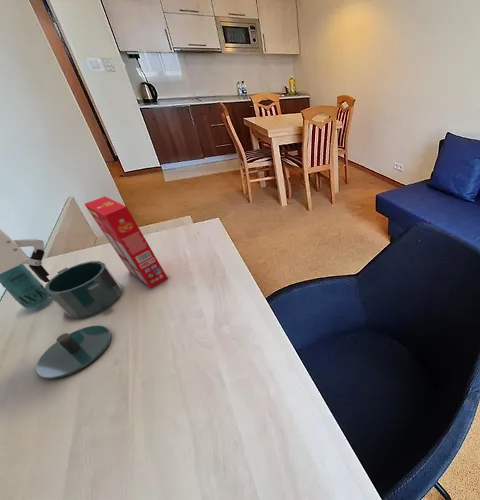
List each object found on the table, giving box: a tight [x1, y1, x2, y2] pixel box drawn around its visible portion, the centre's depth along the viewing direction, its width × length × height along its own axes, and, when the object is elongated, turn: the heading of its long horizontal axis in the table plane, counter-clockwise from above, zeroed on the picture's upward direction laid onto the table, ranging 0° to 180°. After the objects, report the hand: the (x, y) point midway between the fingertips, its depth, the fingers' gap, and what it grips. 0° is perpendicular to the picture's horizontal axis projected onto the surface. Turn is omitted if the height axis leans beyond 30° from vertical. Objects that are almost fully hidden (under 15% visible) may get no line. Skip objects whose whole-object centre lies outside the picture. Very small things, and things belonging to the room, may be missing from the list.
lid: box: [35, 325, 112, 380], centre depth 71 cm, size 15×15×6 cm
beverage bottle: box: [0, 263, 51, 309], centre depth 84 cm, size 6×7×20 cm
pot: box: [44, 260, 123, 320], centre depth 86 cm, size 14×19×10 cm
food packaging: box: [84, 195, 169, 289], centre depth 89 cm, size 15×5×25 cm, turn 54°
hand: (17, 294), depth 62 cm, fingers open, 9 cm apart
